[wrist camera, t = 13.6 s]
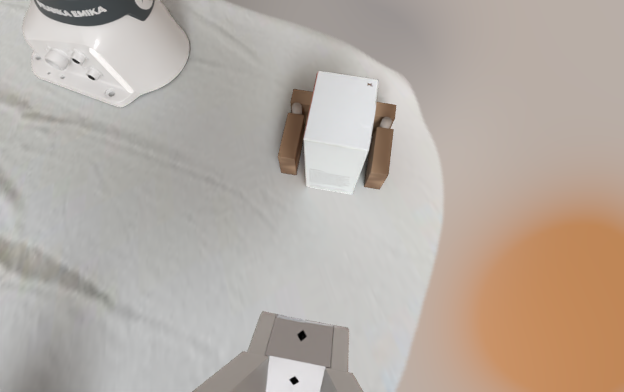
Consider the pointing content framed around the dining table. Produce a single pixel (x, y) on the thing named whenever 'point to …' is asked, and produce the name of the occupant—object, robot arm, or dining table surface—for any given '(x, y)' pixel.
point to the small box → (338, 130)
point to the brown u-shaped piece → (377, 150)
